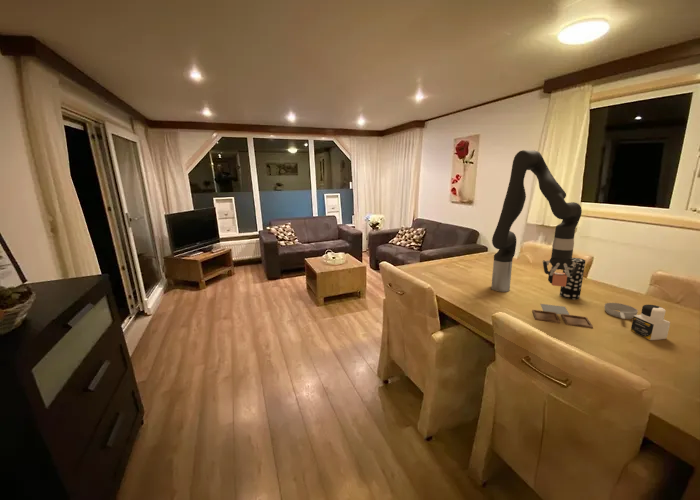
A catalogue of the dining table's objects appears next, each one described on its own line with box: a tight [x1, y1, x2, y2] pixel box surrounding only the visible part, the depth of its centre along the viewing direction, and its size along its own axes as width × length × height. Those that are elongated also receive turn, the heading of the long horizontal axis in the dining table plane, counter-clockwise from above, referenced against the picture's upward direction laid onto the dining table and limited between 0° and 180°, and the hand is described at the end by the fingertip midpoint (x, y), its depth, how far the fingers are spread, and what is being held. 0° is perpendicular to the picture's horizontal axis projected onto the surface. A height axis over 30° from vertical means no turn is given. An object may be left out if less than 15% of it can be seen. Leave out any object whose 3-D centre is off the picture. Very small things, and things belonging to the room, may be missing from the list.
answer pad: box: [540, 303, 571, 315], centre depth 133 cm, size 10×10×1 cm
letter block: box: [550, 271, 567, 287], centre depth 130 cm, size 5×5×5 cm
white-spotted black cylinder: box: [559, 257, 586, 301], centre depth 145 cm, size 8×8×20 cm
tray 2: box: [560, 314, 594, 329], centre depth 121 cm, size 9×9×1 cm
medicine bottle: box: [630, 304, 671, 341], centre depth 109 cm, size 7×7×12 cm
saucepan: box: [604, 302, 639, 320], centre depth 123 cm, size 11×18×4 cm, turn 141°
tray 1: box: [531, 309, 561, 324], centre depth 127 cm, size 9×9×1 cm
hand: (558, 283), depth 130 cm, fingers closed on letter block, 5 cm apart
